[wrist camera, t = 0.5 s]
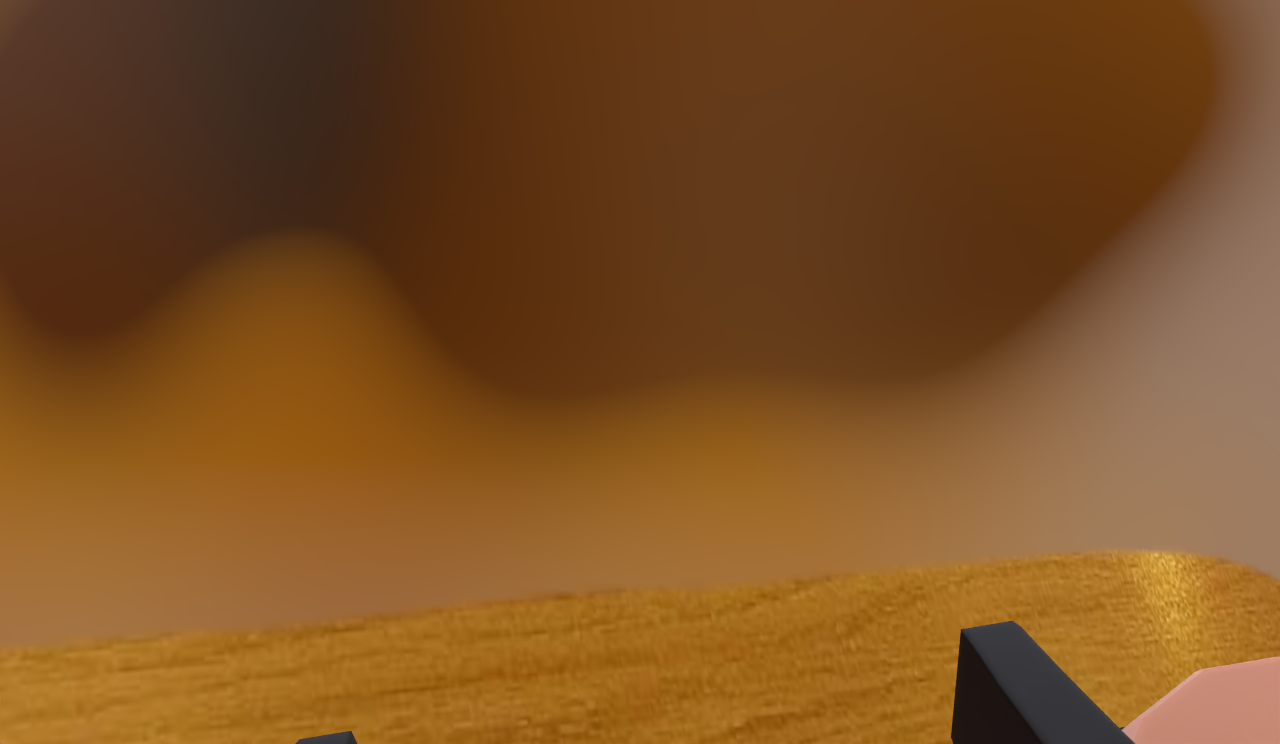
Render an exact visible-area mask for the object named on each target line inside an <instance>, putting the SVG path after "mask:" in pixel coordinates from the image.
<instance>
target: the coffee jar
mask: <svg viewBox="0 0 1280 744" xmlns="http://www.w3.org/2000/svg"><path fill="white" fill-rule="evenodd" d="M1120 729H1121V730H1122V731H1123V732H1124V733H1125V734H1126V735H1127V736H1128V737H1129V738H1130V739H1131V740H1132V741H1133V742H1134V743H1135V744H1280V656H1279V657H1273V658H1267V659H1261V660H1255V661H1249V662H1243V663H1238V664H1232V665H1226V666H1220V667H1214V668H1208V669H1202V670H1197V671H1196V672H1195V673H1193V674H1192V675H1191V676H1189V677H1188V678H1187V679H1186V680H1184V681H1183V682H1182V683H1181V684H1179V685H1178V686H1177V687H1176V688H1174V689H1173V690H1172V691H1170V692H1169V693H1168V694H1167V695H1165V696H1164V697H1163V698H1162V699H1160V700H1159V701H1158V702H1156V703H1155V704H1154V705H1153V706H1151V707H1150V708H1149V709H1148V710H1146V711H1145V712H1144V713H1142V714H1141V715H1140V716H1139V717H1137V718H1136V719H1135V720H1134V721H1132V722H1131V723H1130V724H1129V725H1127V726H1126V727H1122V728H1120Z"/></svg>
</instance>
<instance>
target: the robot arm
mask: <svg viewBox="0 0 1280 744" xmlns="http://www.w3.org/2000/svg"><path fill="white" fill-rule="evenodd" d="M951 738H952V741H953V744H1135V743H1134V742H1133V741H1132V740H1131V739H1130V738H1129V737H1128V736H1127V735H1126V734H1125V733H1124V732H1123V731H1122V730H1121V729H1120V728H1119V727H1118V726H1117V725H1116V724H1115V723H1114V722H1113V721H1112V720H1111V719H1110V718H1109V717H1108V716H1107V715H1106V714H1105V713H1104V712H1103V711H1102V710H1101V709H1100V708H1099V707H1098V706H1097V705H1096V704H1095V703H1094V702H1093V701H1092V700H1091V699H1090V698H1089V697H1088V696H1087V695H1086V694H1085V693H1084V692H1083V691H1082V690H1081V689H1080V688H1079V687H1078V686H1077V685H1076V684H1075V683H1074V682H1073V681H1072V680H1071V679H1070V678H1069V677H1068V676H1067V675H1066V674H1065V673H1064V672H1063V671H1062V670H1061V669H1060V668H1059V667H1058V666H1057V665H1056V664H1055V662H1054V661H1053V660H1052V659H1051V658H1050V657H1049V656H1048V655H1047V654H1046V653H1045V652H1044V651H1043V650H1042V649H1041V648H1040V647H1039V646H1038V645H1037V644H1036V642H1035V641H1034V640H1033V639H1032V638H1031V637H1030V636H1029V635H1028V634H1027V633H1026V632H1025V631H1024V630H1023V629H1022V627H1021V626H1019V625H1018V624H1016V623H1015V622H1013V621H1009V622H1003V623H997V624H991V625H985V626H979V627H973V628H967V629H961V635H960V646H959V657H958V668H957V679H956V689H955V700H954V711H953V722H952V732H951ZM296 744H357V742H356V740H355V738H354V736H353V734H352V732H351V731H347V732H341V733H335V734H329V735H323V736H317V737H311V738H305V739H299V741H298V742H297V743H296Z"/></svg>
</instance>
